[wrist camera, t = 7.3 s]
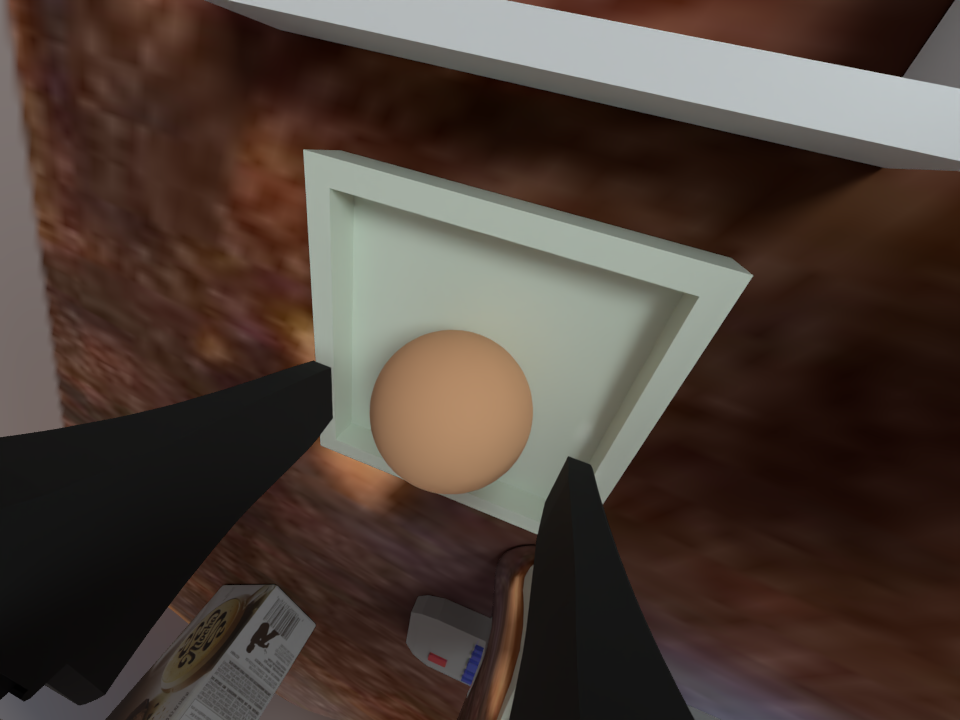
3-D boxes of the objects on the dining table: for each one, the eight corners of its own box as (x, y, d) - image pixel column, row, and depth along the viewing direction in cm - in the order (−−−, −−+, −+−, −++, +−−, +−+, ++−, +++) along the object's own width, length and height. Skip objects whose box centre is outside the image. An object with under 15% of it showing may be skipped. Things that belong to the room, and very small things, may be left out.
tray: (341, 150, 11) (303, 149, 10) (731, 258, 10) (753, 275, 8) (343, 422, 18) (320, 445, 16) (575, 514, 16) (573, 549, 15)
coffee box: (264, 620, 37) (75, 880, 24) (223, 582, 35) (-10, 843, 22) (320, 626, 33) (128, 944, 20) (276, 582, 31) (28, 905, 18)
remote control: (702, 759, 25) (710, 806, 23) (412, 628, 28) (399, 661, 27) (773, 730, 21) (789, 785, 19) (422, 580, 24) (407, 615, 22)
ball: (514, 287, 11) (470, 367, 7) (558, 412, 13) (544, 532, 9) (390, 325, 13) (298, 405, 9) (444, 429, 15) (389, 533, 11)
